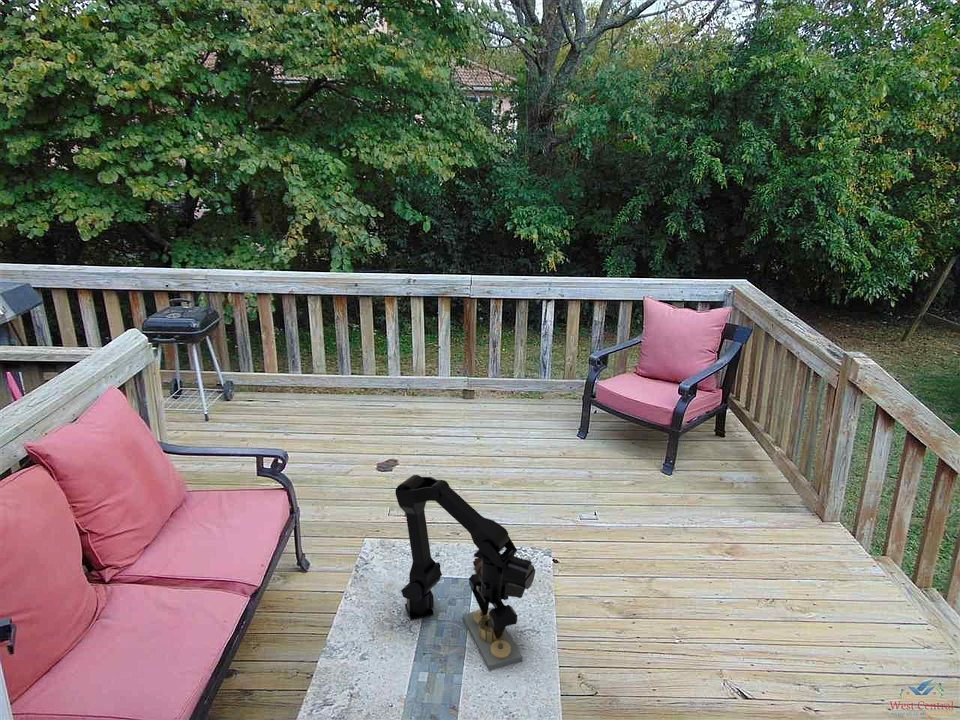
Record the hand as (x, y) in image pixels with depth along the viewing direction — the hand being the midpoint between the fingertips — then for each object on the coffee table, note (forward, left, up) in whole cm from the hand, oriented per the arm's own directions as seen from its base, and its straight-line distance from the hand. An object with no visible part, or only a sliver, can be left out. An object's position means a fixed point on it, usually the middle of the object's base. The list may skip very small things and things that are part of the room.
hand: (491, 626), depth 167 cm
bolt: (+8, +23, -5) cm, 25 cm away
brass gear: (0, 0, -3) cm, 3 cm away
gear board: (0, 0, -4) cm, 4 cm away
